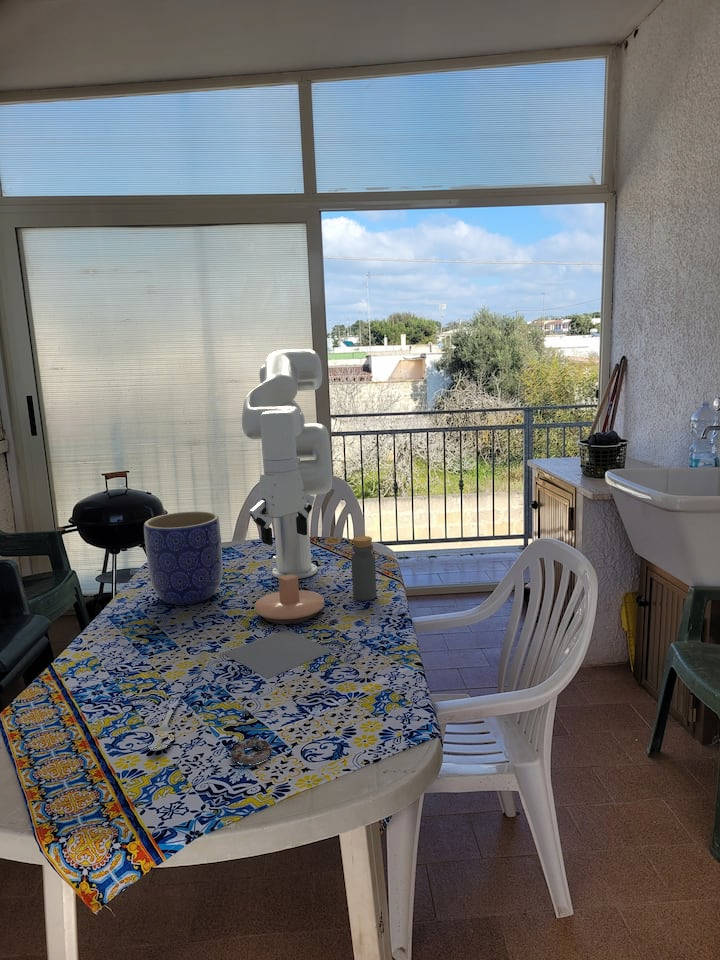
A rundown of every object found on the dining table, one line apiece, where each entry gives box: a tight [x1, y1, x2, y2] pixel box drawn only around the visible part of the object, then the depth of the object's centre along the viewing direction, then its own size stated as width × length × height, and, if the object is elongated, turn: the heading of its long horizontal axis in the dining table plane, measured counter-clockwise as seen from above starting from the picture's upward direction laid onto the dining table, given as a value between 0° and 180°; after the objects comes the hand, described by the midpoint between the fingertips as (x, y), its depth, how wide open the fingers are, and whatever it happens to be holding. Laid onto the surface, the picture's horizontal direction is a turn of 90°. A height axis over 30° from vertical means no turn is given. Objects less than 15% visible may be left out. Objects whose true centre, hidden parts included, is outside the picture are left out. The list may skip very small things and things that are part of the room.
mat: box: [222, 629, 335, 680], centre depth 132 cm, size 16×16×1 cm
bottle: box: [350, 535, 378, 602], centre depth 161 cm, size 6×6×15 cm
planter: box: [143, 510, 223, 606], centre depth 166 cm, size 18×18×21 cm
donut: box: [230, 736, 273, 764], centre depth 98 cm, size 8×8×2 cm
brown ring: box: [261, 611, 319, 625], centre depth 152 cm, size 15×15×3 cm
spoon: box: [148, 711, 174, 752], centre depth 109 cm, size 4×21×2 cm, turn 6°
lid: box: [254, 574, 325, 619], centre depth 151 cm, size 16×16×7 cm
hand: (285, 538), depth 150 cm, fingers open, 9 cm apart
